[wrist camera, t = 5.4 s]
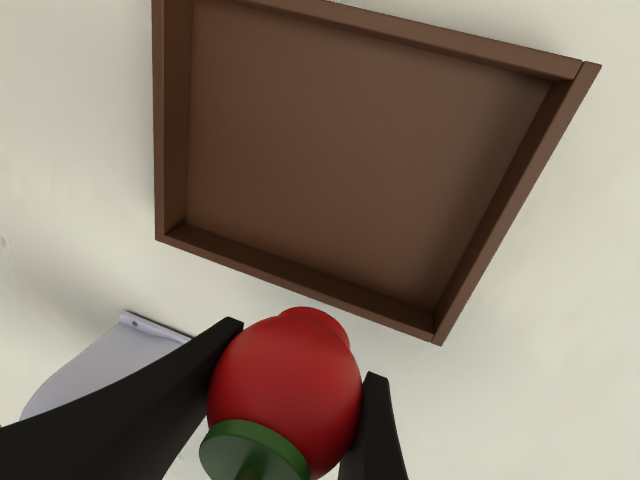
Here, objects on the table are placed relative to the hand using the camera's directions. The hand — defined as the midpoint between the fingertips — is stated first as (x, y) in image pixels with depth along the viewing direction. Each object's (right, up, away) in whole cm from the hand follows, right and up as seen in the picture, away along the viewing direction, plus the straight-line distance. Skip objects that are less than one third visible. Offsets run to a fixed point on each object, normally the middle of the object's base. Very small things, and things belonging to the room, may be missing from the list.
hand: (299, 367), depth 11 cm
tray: (+1, +8, +6) cm, 10 cm away
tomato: (0, +1, +1) cm, 1 cm away
